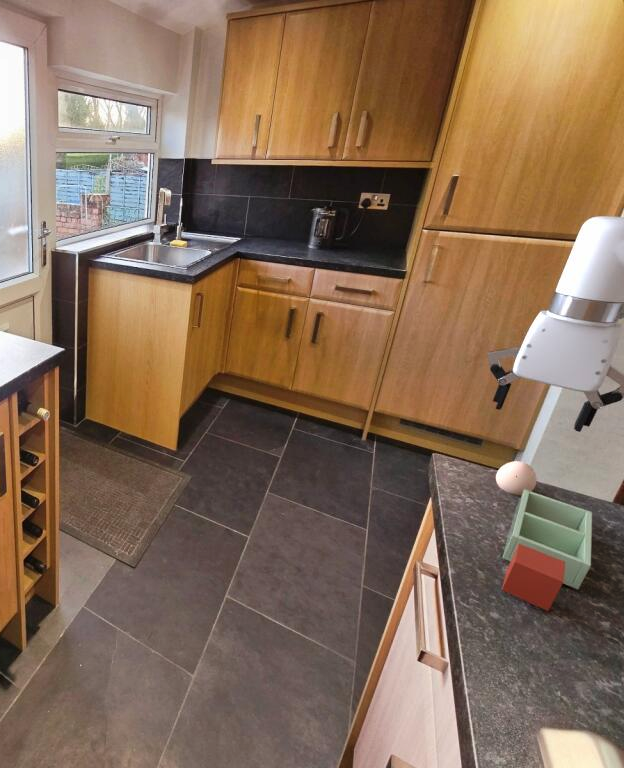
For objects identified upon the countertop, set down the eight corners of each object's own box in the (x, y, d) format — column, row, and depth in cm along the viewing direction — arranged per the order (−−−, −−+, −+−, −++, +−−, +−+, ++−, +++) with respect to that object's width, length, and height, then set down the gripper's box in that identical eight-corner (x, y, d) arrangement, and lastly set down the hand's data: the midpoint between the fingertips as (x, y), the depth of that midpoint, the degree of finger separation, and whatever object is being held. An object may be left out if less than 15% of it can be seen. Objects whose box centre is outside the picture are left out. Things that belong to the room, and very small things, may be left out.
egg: (495, 478, 85) (508, 450, 83) (531, 493, 82) (546, 464, 79) (486, 491, 82) (500, 462, 80) (523, 507, 79) (539, 477, 76)
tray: (581, 533, 73) (592, 512, 71) (578, 589, 62) (591, 565, 61) (515, 509, 78) (524, 489, 76) (502, 558, 67) (512, 535, 66)
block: (551, 590, 62) (565, 561, 60) (548, 611, 59) (563, 582, 57) (506, 571, 65) (518, 543, 63) (501, 590, 62) (514, 561, 60)
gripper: (668, 318, 67) (611, 429, 74) (511, 294, 77) (474, 393, 84) (674, 328, 62) (612, 447, 69) (505, 301, 72) (466, 406, 79)
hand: (536, 417), depth 76 cm, fingers open, 9 cm apart
